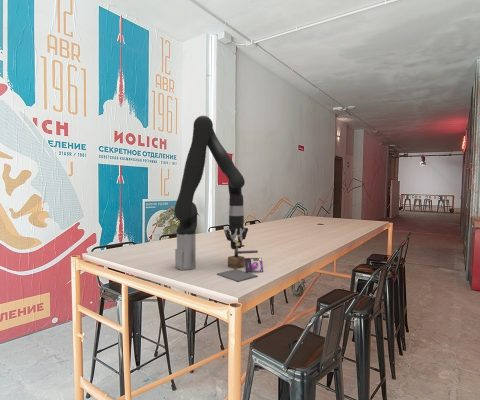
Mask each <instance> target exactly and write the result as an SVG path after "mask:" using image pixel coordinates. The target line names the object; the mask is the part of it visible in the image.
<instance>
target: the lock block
mask: <svg viewBox="0 0 480 400" xmlns="http://www.w3.org/2000/svg"><path fill="white" fill-rule="evenodd" d="M245 258H246V257H245V256H242V255H238V257H235V255H230V256H228V257H227V267H228V268H231V269H233V270H234V269H238V270H239V269H242V268H245Z"/></svg>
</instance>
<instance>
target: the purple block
mask: <svg viewBox="0 0 480 400" xmlns="http://www.w3.org/2000/svg"><path fill="white" fill-rule="evenodd" d="M252 260H253V262H252ZM259 266H260V267H259ZM258 267H259V268H260V269H259V271H257V269H258ZM244 270H245V271H244V272H246V273H253V271H255V270H256V271H255V273H263V272H264V266H263V258H262V257H247V258H246V257H245V267H244Z"/></svg>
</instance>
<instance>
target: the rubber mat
mask: <svg viewBox="0 0 480 400" xmlns="http://www.w3.org/2000/svg"><path fill="white" fill-rule="evenodd" d="M216 275H217V276H220V277H222V278H225V279H228V280H231V281H234V282H237V283H240V282H242V281H243V282H244V281H247V280H250V279H254V278H258V275H257V274H253V273H252V272H250V273H246V271H244V270H241V269H239V268H238V269H234V268H233V269H230V270H226V271H221V272H218V273H217V272H216Z"/></svg>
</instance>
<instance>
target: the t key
mask: <svg viewBox="0 0 480 400" xmlns="http://www.w3.org/2000/svg"><path fill="white" fill-rule="evenodd" d="M238 246H240V242H238V239H235V249H234V256H235V257H238V256H239V254H240V255H241V254H243V255H244V254H258V253H259V251H258V250H255V249H254V250H239V248H238Z"/></svg>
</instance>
